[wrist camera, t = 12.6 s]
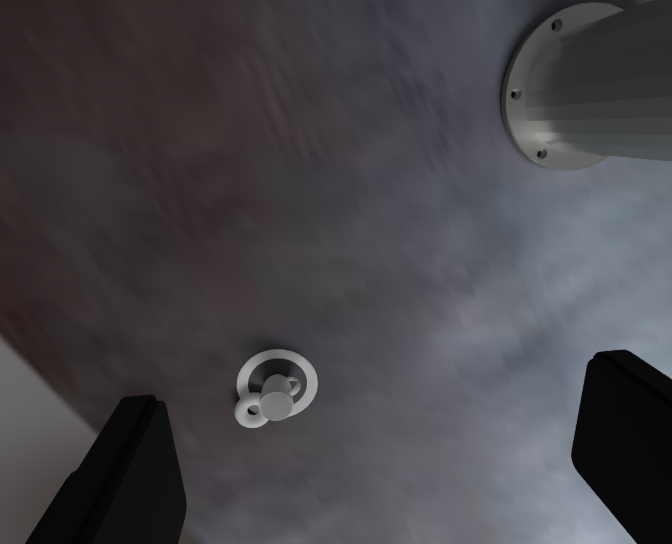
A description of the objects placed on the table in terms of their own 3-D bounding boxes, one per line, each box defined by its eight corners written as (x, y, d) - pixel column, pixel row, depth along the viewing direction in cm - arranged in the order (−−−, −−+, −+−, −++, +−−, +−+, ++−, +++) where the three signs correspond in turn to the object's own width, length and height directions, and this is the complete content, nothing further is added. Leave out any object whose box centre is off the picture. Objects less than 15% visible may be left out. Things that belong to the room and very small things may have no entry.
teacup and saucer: (245, 426, 43) (240, 455, 39) (217, 362, 40) (210, 387, 36) (326, 402, 43) (330, 428, 39) (304, 337, 40) (305, 359, 37)
